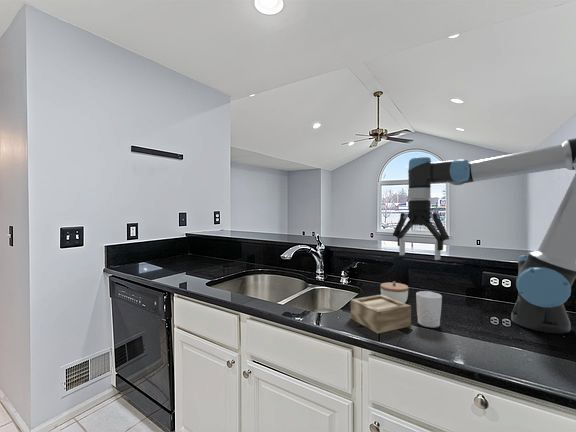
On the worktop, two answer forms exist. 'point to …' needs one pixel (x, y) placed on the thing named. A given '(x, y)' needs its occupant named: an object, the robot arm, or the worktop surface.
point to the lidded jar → (395, 291)
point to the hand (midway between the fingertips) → (419, 257)
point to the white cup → (428, 308)
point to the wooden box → (380, 313)
